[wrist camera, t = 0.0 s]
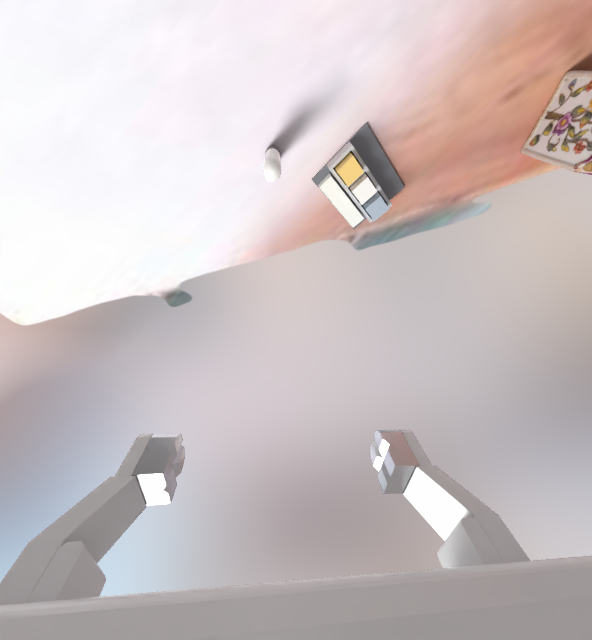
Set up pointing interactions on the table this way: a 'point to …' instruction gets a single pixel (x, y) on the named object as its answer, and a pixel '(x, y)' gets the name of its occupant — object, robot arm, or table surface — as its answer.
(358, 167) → the key amber
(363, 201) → the key white
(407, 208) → the table surface
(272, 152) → the white rounded cylinder
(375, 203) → the key slate
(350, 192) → the keypad
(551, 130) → the decorative jar
